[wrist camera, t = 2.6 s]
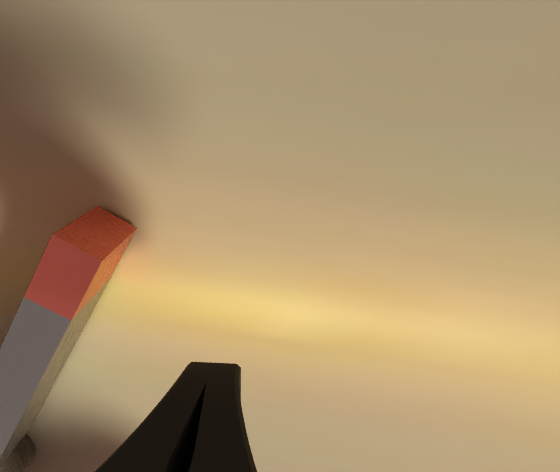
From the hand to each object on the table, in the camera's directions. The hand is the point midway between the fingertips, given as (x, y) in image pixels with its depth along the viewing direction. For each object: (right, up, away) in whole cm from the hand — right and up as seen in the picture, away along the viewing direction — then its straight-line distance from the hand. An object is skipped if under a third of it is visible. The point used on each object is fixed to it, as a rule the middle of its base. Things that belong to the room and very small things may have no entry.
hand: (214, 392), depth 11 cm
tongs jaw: (-7, 0, +6) cm, 9 cm away
